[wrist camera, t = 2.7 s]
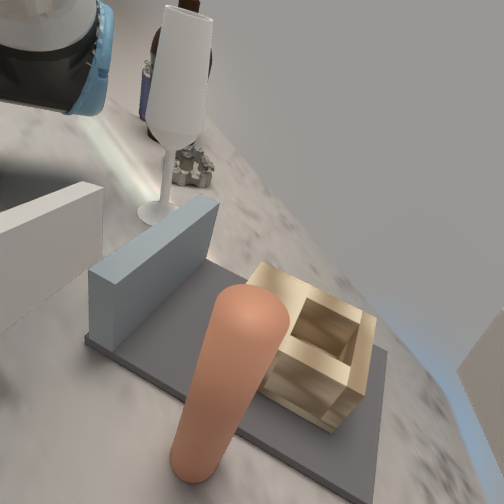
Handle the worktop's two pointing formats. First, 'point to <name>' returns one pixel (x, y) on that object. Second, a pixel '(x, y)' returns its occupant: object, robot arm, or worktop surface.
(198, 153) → the egg carton
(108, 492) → the worktop surface
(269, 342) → the dowel
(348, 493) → the mat
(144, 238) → the wall
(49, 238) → the robot arm
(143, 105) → the flask
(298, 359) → the socket block
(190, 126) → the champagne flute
